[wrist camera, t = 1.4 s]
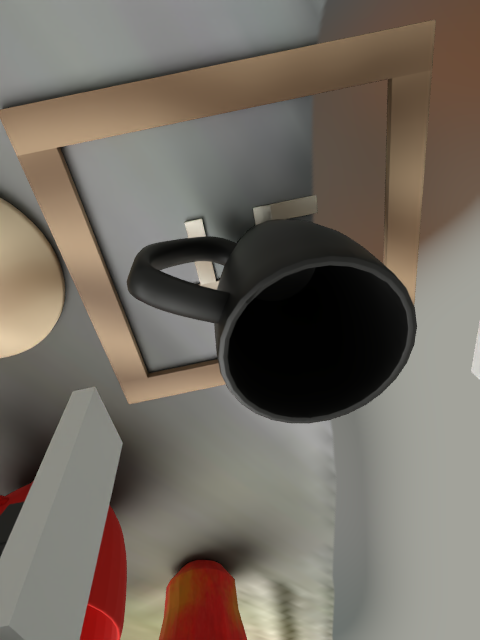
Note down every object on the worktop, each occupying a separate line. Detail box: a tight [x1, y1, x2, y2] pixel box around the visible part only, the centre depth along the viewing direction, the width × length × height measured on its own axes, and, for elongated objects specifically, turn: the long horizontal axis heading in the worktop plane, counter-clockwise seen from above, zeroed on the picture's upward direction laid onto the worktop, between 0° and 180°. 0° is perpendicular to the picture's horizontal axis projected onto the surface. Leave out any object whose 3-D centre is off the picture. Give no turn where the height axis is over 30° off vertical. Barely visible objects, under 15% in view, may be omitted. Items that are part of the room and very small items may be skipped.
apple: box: [159, 560, 247, 640], centre depth 36 cm, size 9×8×12 cm
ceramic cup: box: [0, 482, 127, 640], centre depth 27 cm, size 13×17×10 cm
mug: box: [127, 219, 417, 423], centre depth 19 cm, size 8×12×10 cm
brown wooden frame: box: [0, 20, 436, 404], centre depth 23 cm, size 19×21×1 cm
